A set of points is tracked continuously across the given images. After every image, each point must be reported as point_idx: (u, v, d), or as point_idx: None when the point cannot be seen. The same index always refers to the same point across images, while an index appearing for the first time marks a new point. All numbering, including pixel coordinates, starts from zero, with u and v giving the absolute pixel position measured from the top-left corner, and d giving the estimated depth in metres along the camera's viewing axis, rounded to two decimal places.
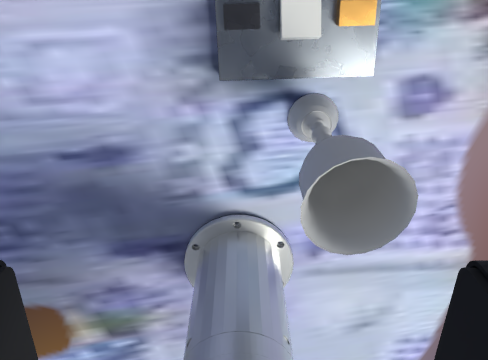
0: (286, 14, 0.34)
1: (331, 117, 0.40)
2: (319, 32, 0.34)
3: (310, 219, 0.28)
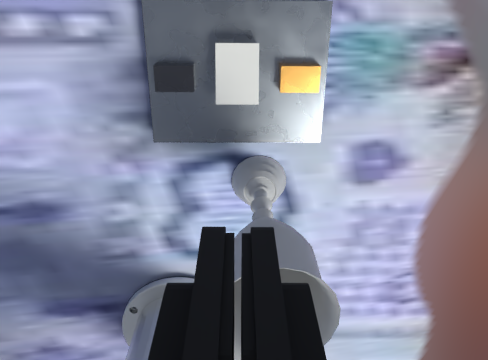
0: (221, 79, 0.31)
1: (276, 183, 0.37)
2: (256, 100, 0.31)
3: None
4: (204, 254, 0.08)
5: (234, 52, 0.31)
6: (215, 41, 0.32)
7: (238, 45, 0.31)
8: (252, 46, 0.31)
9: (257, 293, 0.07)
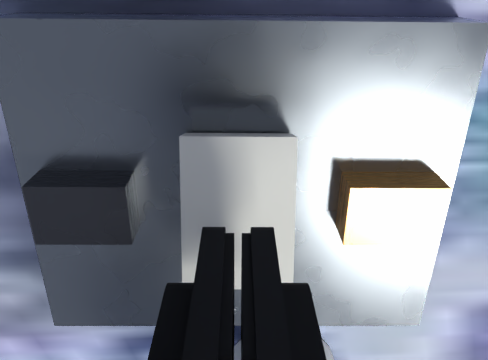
0: (195, 229, 0.12)
1: None
2: (288, 278, 0.12)
3: None
4: (204, 254, 0.08)
5: (231, 161, 0.12)
6: (183, 122, 0.13)
7: (241, 142, 0.11)
8: (280, 146, 0.11)
9: (257, 293, 0.07)
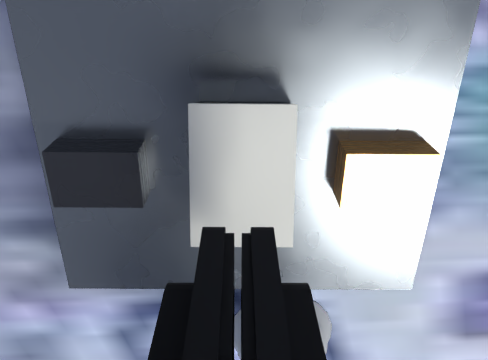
0: (202, 191, 0.13)
1: None
2: (288, 237, 0.13)
3: None
4: (204, 254, 0.08)
5: (236, 127, 0.12)
6: (191, 92, 0.14)
7: (245, 109, 0.12)
8: (281, 113, 0.12)
9: (257, 293, 0.07)
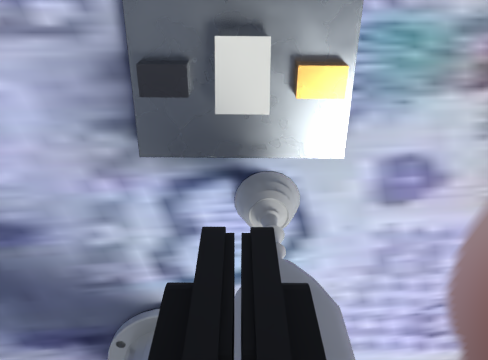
0: (221, 83, 0.25)
1: (288, 206, 0.31)
2: (267, 108, 0.25)
3: None
4: (204, 254, 0.08)
5: (239, 48, 0.24)
6: (215, 33, 0.25)
7: (244, 39, 0.24)
8: (262, 41, 0.24)
9: (257, 293, 0.07)
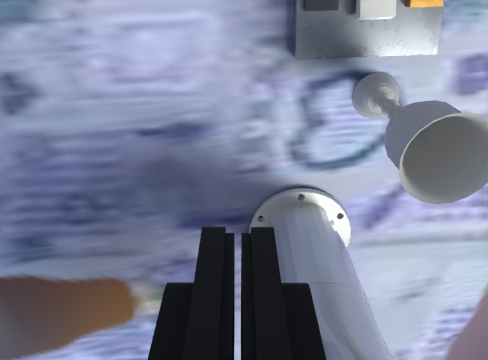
0: None
1: (396, 93, 0.44)
2: (394, 12, 0.38)
3: (404, 172, 0.31)
4: (204, 254, 0.08)
5: None
6: None
7: None
8: None
9: (257, 293, 0.07)
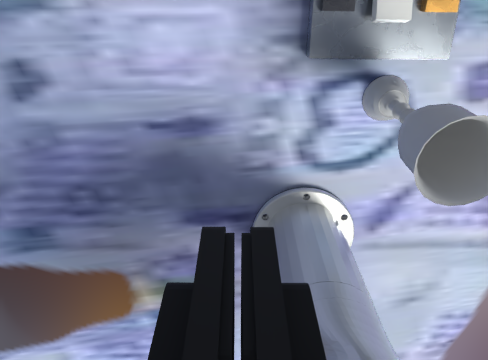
0: None
1: (406, 97, 0.44)
2: (410, 16, 0.38)
3: (418, 173, 0.31)
4: (204, 254, 0.08)
5: None
6: None
7: None
8: None
9: (257, 293, 0.07)
